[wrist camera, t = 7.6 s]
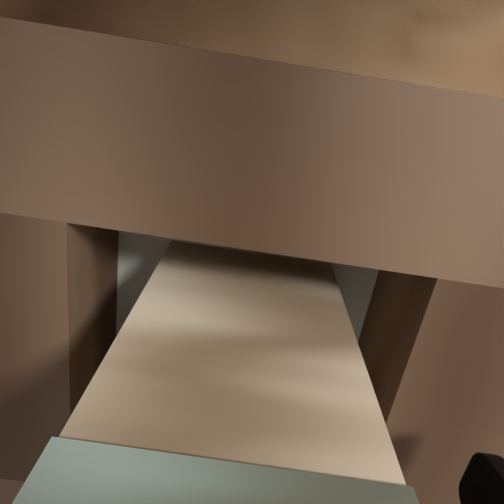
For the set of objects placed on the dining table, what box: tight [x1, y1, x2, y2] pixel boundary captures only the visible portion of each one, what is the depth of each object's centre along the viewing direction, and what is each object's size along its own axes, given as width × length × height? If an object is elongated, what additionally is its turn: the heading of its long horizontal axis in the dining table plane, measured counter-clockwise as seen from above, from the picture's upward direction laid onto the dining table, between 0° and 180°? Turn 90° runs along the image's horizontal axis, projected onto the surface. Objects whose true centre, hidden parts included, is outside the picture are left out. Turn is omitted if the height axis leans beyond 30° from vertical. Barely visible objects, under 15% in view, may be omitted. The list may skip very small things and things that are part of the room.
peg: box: [12, 241, 419, 504], centre depth 8 cm, size 4×4×7 cm
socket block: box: [0, 17, 504, 504], centre depth 10 cm, size 12×12×4 cm
